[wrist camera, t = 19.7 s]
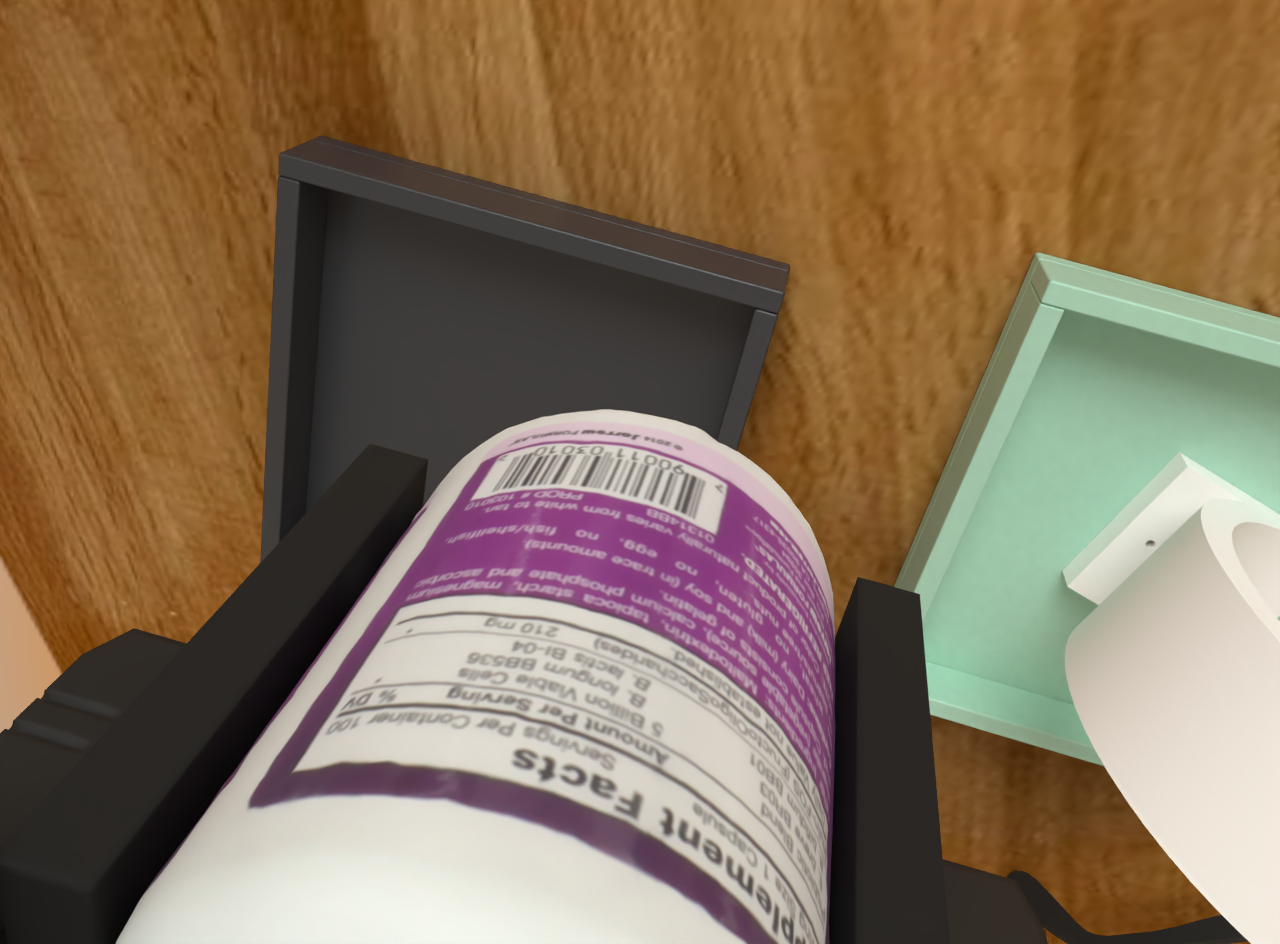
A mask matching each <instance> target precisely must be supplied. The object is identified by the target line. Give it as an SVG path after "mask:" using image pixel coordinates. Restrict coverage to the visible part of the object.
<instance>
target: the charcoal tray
mask: <svg viewBox="0 0 1280 944" xmlns="http://www.w3.org/2000/svg"><path fill="white" fill-rule="evenodd" d="M279 175H280V176H279V178H278V193H277V215H276V237H275V258H274V280H273V302H272V323H271V345H270V367H269V388H268V410H267V432H266V453H265V475H264V497H263V518H262V540H261V553H262V554H261V562H262V561H263V560H264V559H265V558H266V557H267V556H268V554H269V553H270V552H271V551H272V550H273V549H274V548H275V547H276V546H277V545H278V543H279V542H280V541H281V540H282V539H283V538H284V537H285V536H286V535H287V534H288V533H289V531H290V530H291V529H292V528H293V527H294V526H295V525H296V524H297V523H298V522H299V521H300V519H301V518H302V517H303V516H304V515H305V514H306V513H307V512H308V511H309V510H310V508H311V507H312V506H313V505H314V504H315V503H316V502H317V501H318V500H319V499H320V498H321V496H322V495H323V494H324V493H325V492H326V491H327V490H328V489H329V488H330V487H331V486H332V484H333V483H334V482H335V481H336V480H337V479H338V478H339V477H340V476H341V475H342V473H343V472H344V471H345V470H346V469H347V468H348V467H349V466H350V465H351V464H352V463H353V461H354V460H355V459H356V458H357V457H358V456H359V455H360V454H361V453H362V452H363V451H364V449H365V448H366V447H367V446H368V445H369V444H374V445H377V446H381V447H385V448H388V449H392V450H396V451H399V452H403V453H406V454H410V455H414V456H417V457H421V458H425V459H428V466H427V475H426V483H425V492H424V501H423V507H424V505H425V504H426V502H427V501H428V500H429V498H430V497H431V495H432V494H433V493H434V491H435V490H436V488H437V487H438V485H439V484H440V483H441V482H442V481H443V479H444V478H445V477H446V476H447V475H448V473H449V472H450V471H451V470H452V469H453V468H454V467H455V466H456V465H457V464H458V463H459V462H460V461H461V460H462V459H463V458H464V457H465V456H466V455H468V454H469V453H470V452H472V451H473V450H474V449H476V448H477V447H478V446H480V445H481V444H482V443H484V442H485V441H487V440H488V439H490V438H492V437H493V436H495V435H496V434H498V433H500V432H502V431H503V430H505V429H507V428H510V427H513V426H516V425H519V424H522V423H525V422H528V421H531V420H534V419H537V418H540V417H547V416H553V415H558V414H564V413H573V412H581V411H594V410H600V409H611V410H621V411H630V412H636V413H642V414H647V415H653V416H657V417H662V418H666V419H671V420H675V421H678V422H681V423H684V424H687V425H691V426H694V427H697V428H699V429H701V430H703V431H705V432H706V433H707V434H708V435H710V436H711V437H712V438H713V439H715V440H716V441H717V442H719V443H721V444H723V445H726V446H728V447H730V448H731V449H733V450H735V451H737V448H738V445H739V442H740V438H741V435H742V432H743V429H744V425H745V422H746V419H747V416H748V412H749V409H750V406H751V402H752V399H753V396H754V393H755V389H756V386H757V383H758V380H759V376H760V373H761V370H762V367H763V363H764V360H765V357H766V353H767V350H768V347H769V344H770V340H771V337H772V334H773V331H774V327H775V324H776V321H777V318H778V313H779V311H780V308H781V304H782V301H783V298H784V295H785V290H786V285H787V280H788V275H789V270H790V265H789V264H785V263H782V262H778V261H775V260H771V259H767V258H764V257H760V256H756V255H753V254H749V253H746V252H742V251H738V250H735V249H731V248H727V247H724V246H720V245H716V244H713V243H709V242H706V241H702V240H698V239H695V238H691V237H687V236H684V235H680V234H677V233H673V232H669V231H666V230H662V229H658V228H655V227H651V226H647V225H644V224H640V223H637V222H633V221H629V220H626V219H622V218H618V217H615V216H611V215H608V214H604V213H600V212H597V211H593V210H589V209H586V208H582V207H579V206H575V205H571V204H568V203H564V202H560V201H557V200H553V199H549V198H546V197H542V196H539V195H535V194H531V193H528V192H524V191H520V190H517V189H513V188H510V187H506V186H502V185H499V184H495V183H491V182H488V181H484V180H480V179H477V178H473V177H470V176H466V175H462V174H459V173H455V172H451V171H448V170H444V169H441V168H437V167H433V166H430V165H426V164H422V163H419V162H415V161H411V160H408V159H404V158H401V157H397V156H393V155H390V154H386V153H382V152H379V151H375V150H372V149H368V148H364V147H361V146H357V145H353V144H350V143H346V142H342V141H339V140H335V139H332V138H328V137H324V136H319V137H317V138H314V139H312V140H310V141H308V142H305V143H303V144H300V145H298V146H296V147H293V148H291V149H289V150H286V151H284V152H281V153H280V155H279Z"/></svg>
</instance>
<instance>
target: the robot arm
mask: <svg viewBox="0 0 1280 944" xmlns="http://www.w3.org/2000/svg"><path fill="white" fill-rule="evenodd" d="M427 466H428V459H425V458H421V457H417V456H414V455H410V454H406V453H403V452H399V451H396V450H392V449H388V448H385V447H381V446H377V445H374V444H369V445H368V446H367V447H366V448H365V449H364V451H363V452H362V453H361V454H360V455H359V456H358V457H357V458H356V459H355V460H354V461H353V463H352V464H351V465H350V466H349V467H348V468H347V469H346V470H345V471H344V472H343V473H342V475H341V476H340V477H339V478H338V479H337V480H336V481H335V482H334V483H333V484H332V486H331V487H330V488H329V489H328V490H327V491H326V492H325V493H324V494H323V495H322V496H321V498H320V499H319V500H318V501H317V502H316V503H315V504H314V505H313V506H312V507H311V508H310V510H309V511H308V512H307V513H306V514H305V515H304V516H303V517H302V518H301V519H300V521H299V522H298V523H297V524H296V525H295V526H294V527H293V528H292V529H291V530H290V531H289V533H288V534H287V535H286V536H285V537H284V538H283V539H282V540H281V541H280V542H279V543H278V545H277V546H276V547H275V548H274V549H273V550H272V551H271V552H270V553H269V554H268V556H267V557H266V558H265V559H264V560H263V561H262V562H261V563H260V564H259V565H258V566H257V568H256V569H255V570H254V571H253V572H252V573H251V574H250V575H249V576H248V577H247V578H246V580H245V581H244V582H243V583H242V584H241V585H240V586H239V587H238V588H237V589H236V591H235V592H234V593H233V594H232V595H231V596H230V597H229V598H228V599H227V600H226V601H225V603H224V604H223V605H222V606H221V607H220V608H219V609H218V610H217V611H216V612H215V613H214V615H213V616H212V617H211V618H210V619H209V620H208V621H207V622H206V623H205V624H204V626H203V627H202V628H201V629H200V630H199V631H198V632H197V633H196V634H195V635H194V636H193V638H192V639H191V640H190V641H189V642H188V643H187V644H186V643H183V642H179V641H176V640H172V639H169V638H165V637H162V636H158V635H155V634H151V633H148V632H145V631H141V630H138V629H132V630H130V631H128V632H126V633H124V634H122V635H120V636H118V637H116V638H114V639H112V640H110V641H108V642H106V643H104V644H102V645H100V646H98V647H96V648H94V649H92V650H90V651H88V652H86V653H84V654H82V655H81V656H80V657H79V658H78V659H77V660H76V661H75V662H74V663H73V664H72V665H71V666H70V667H69V668H68V669H67V670H66V671H65V672H64V673H63V674H62V675H60V677H58V679H56V681H54V682H53V683H52V684H51V685H50V686H49V687H48V688H47V689H46V690H45V692H44V695H43V697H42V698H41V699H39V698H37V699H35V701H33V702H32V703H31V704H30V705H29V706H28V707H27V708H26V709H25V710H24V711H23V712H22V713H21V714H20V715H19V716H18V717H17V718H16V719H15V720H14V721H13V724H12V727H11V728H10V729H9V730H7V729H4V730H3V731H2V732H1V733H0V944H116V942H117V939H118V938H119V936H120V934H121V932H122V931H123V929H124V927H125V925H126V924H127V922H128V920H129V918H130V917H131V915H132V913H133V911H134V910H135V908H136V906H137V904H138V903H139V901H140V899H141V897H142V896H143V894H144V892H145V891H146V890H147V888H148V887H149V885H150V884H151V883H152V881H153V880H154V878H155V877H156V875H157V874H158V873H159V871H160V870H161V869H162V868H163V866H164V865H165V864H166V862H167V861H168V860H169V859H170V857H171V856H172V855H173V853H174V852H175V851H176V849H177V848H178V847H179V846H180V844H181V843H182V842H183V840H184V839H185V838H186V836H187V835H188V834H189V832H190V831H191V830H192V828H193V827H194V826H195V824H196V823H197V822H198V821H199V819H200V818H201V817H202V815H203V814H204V813H205V811H206V810H207V808H208V807H209V805H210V804H211V802H212V801H213V799H214V798H215V796H216V795H217V793H218V792H219V790H220V789H221V787H222V786H223V784H224V783H225V782H226V781H227V780H228V778H229V777H230V776H231V775H232V774H233V772H234V771H235V770H236V768H237V767H238V765H239V764H240V763H241V761H242V760H243V758H244V757H245V755H246V754H247V753H248V751H249V750H250V748H251V747H252V746H253V744H254V743H255V741H256V740H257V738H258V737H259V736H260V734H261V733H262V732H263V730H264V729H265V727H266V726H267V725H268V723H269V722H270V721H271V719H272V718H273V716H274V715H275V714H276V712H277V711H278V710H279V708H280V707H281V705H282V704H283V703H284V702H285V700H286V699H287V697H288V696H289V694H290V693H291V692H292V690H293V689H294V687H295V686H296V685H297V683H298V682H299V680H300V679H301V678H302V676H303V675H304V673H305V672H306V671H307V669H308V668H309V667H310V665H311V664H312V663H313V661H314V660H315V659H316V657H317V656H318V655H319V653H320V652H321V650H322V649H323V647H324V646H325V645H326V643H327V642H328V640H329V639H330V638H331V636H332V635H333V633H334V632H335V631H336V629H337V628H338V627H339V625H340V624H341V622H342V621H343V619H344V618H345V616H346V615H347V614H348V612H349V611H350V609H351V608H352V606H353V605H354V604H355V602H356V601H357V599H358V598H359V596H360V595H361V593H362V592H363V591H364V589H365V588H366V586H367V585H368V584H369V582H370V581H371V579H372V578H373V577H374V575H375V574H376V572H377V571H378V569H379V568H380V566H381V565H382V564H383V562H384V561H385V559H386V558H387V556H388V555H389V553H390V552H391V550H392V549H393V548H394V546H395V545H396V543H397V542H398V540H399V539H400V538H401V536H402V535H403V534H404V533H405V531H406V530H407V529H408V528H409V526H410V525H411V523H412V521H413V519H414V518H415V516H416V514H417V513H418V512H419V511H420V510H421V509H422V508H423V501H424V492H425V483H426V475H427ZM829 944H1048V943H1047V938H1046V932H1045V931H1044V929H1043V927H1042V925H1041V923H1040V922H1039V920H1038V918H1037V916H1036V915H1035V913H1034V911H1033V909H1032V908H1031V906H1030V904H1029V902H1028V901H1027V899H1026V897H1025V895H1024V894H1023V892H1022V890H1021V888H1020V887H1019V885H1018V883H1017V881H1016V880H1012V879H1009V878H1005V877H1002V876H998V875H995V874H991V873H988V872H985V871H981V870H978V869H974V868H971V867H967V866H964V865H960V864H957V863H953V862H950V861H947V860H943V859H942V847H941V836H940V824H939V812H938V801H937V789H936V777H935V766H934V754H933V742H932V730H931V719H930V707H929V695H928V684H927V672H926V660H925V648H924V637H923V625H922V613H921V602H920V594H918V593H914V592H910V591H907V590H903V589H899V588H896V587H892V586H888V585H885V584H881V583H877V582H874V581H870V580H867V579H863V578H859V577H858V578H857V581H856V584H855V586H854V589H853V592H852V594H851V597H850V600H849V602H848V605H847V607H846V610H845V613H844V615H843V618H842V621H841V623H840V626H839V629H838V631H837V634H836V637H835V761H834V798H833V832H832V854H831V878H830V906H829Z"/></svg>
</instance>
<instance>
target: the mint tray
mask: <svg viewBox="0 0 1280 944" xmlns="http://www.w3.org/2000/svg"><path fill="white" fill-rule="evenodd" d="M1179 452H1180V453H1182V454H1183V455H1185V456H1186V457H1188V458H1190V459H1191V460H1193V461H1194V462H1196V463H1198V464H1199V465H1201V466H1202V467H1204V468H1206V469H1207V470H1209V471H1210V472H1212V473H1214V474H1215V475H1217V476H1218V477H1220V478H1222V479H1223V480H1225V481H1227V482H1228V483H1230V484H1231V485H1233V486H1235V487H1236V488H1238V489H1239V490H1241V491H1243V492H1244V493H1246V494H1247V495H1249V496H1251V497H1252V498H1254V499H1255V500H1257V501H1259V502H1260V503H1262V504H1264V505H1265V506H1267V507H1268V508H1270V509H1272V510H1273V511H1275V512H1276V513H1278V514H1280V318H1278V317H1275V316H1271V315H1267V314H1264V313H1260V312H1256V311H1253V310H1249V309H1245V308H1242V307H1238V306H1234V305H1231V304H1227V303H1223V302H1219V301H1216V300H1212V299H1208V298H1205V297H1201V296H1197V295H1194V294H1190V293H1186V292H1183V291H1179V290H1175V289H1172V288H1168V287H1164V286H1160V285H1157V284H1153V283H1149V282H1146V281H1142V280H1138V279H1135V278H1131V277H1127V276H1124V275H1120V274H1116V273H1113V272H1109V271H1105V270H1101V269H1098V268H1094V267H1090V266H1087V265H1083V264H1079V263H1076V262H1072V261H1068V260H1065V259H1061V258H1057V257H1054V256H1050V255H1046V254H1042V253H1036V254H1035V256H1034V258H1033V260H1032V263H1031V265H1030V267H1029V270H1028V272H1027V274H1026V277H1025V279H1024V281H1023V284H1022V286H1021V288H1020V291H1019V293H1018V296H1017V298H1016V300H1015V303H1014V305H1013V307H1012V310H1011V312H1010V314H1009V317H1008V319H1007V321H1006V324H1005V326H1004V329H1003V331H1002V333H1001V336H1000V338H999V340H998V343H997V345H996V347H995V350H994V352H993V354H992V357H991V359H990V361H989V364H988V366H987V369H986V371H985V373H984V376H983V378H982V380H981V383H980V385H979V387H978V390H977V392H976V394H975V397H974V399H973V401H972V404H971V406H970V409H969V411H968V413H967V416H966V418H965V420H964V423H963V425H962V427H961V430H960V432H959V434H958V437H957V439H956V442H955V444H954V446H953V449H952V451H951V453H950V456H949V458H948V460H947V463H946V465H945V467H944V470H943V472H942V474H941V477H940V479H939V482H938V484H937V486H936V489H935V491H934V493H933V496H932V498H931V500H930V503H929V505H928V507H927V510H926V512H925V515H924V517H923V519H922V522H921V524H920V526H919V529H918V531H917V533H916V536H915V538H914V540H913V543H912V545H911V547H910V550H909V552H908V555H907V557H906V559H905V562H904V564H903V566H902V569H901V571H900V573H899V576H898V578H897V580H896V583H895V585H894V587H896V588H899V589H903V590H907V591H910V592H914V593H918V594H920V602H921V613H922V625H923V637H924V648H925V660H926V672H927V684H928V695H929V707H930V715H933V716H936V717H939V718H943V719H946V720H949V721H953V722H956V723H960V724H963V725H966V726H970V727H973V728H976V729H980V730H983V731H987V732H990V733H993V734H997V735H1000V736H1003V737H1007V738H1010V739H1013V740H1017V741H1020V742H1024V743H1027V744H1030V745H1034V746H1037V747H1040V748H1044V749H1047V750H1051V751H1054V752H1057V753H1061V754H1064V755H1067V756H1071V757H1074V758H1078V759H1081V760H1084V761H1088V762H1091V763H1094V764H1098V765H1101V766H1104V765H1103V763H1102V761H1101V759H1100V758H1099V756H1098V754H1097V753H1096V751H1095V749H1094V747H1093V745H1092V743H1091V741H1090V739H1089V737H1088V735H1087V733H1086V731H1085V729H1084V727H1083V725H1082V722H1081V720H1080V718H1079V715H1078V713H1077V711H1076V708H1075V705H1074V702H1073V699H1072V696H1071V693H1070V690H1069V686H1068V682H1067V677H1066V672H1065V659H1064V658H1065V648H1066V644H1067V641H1068V638H1069V636H1070V635H1071V633H1072V632H1073V630H1074V629H1075V628H1076V627H1077V626H1078V625H1079V624H1080V623H1081V622H1082V621H1083V620H1084V619H1085V618H1086V617H1087V616H1088V615H1089V614H1090V613H1092V612H1093V611H1094V610H1095V609H1096V608H1097V607H1098V606H1099V605H1097V604H1096V603H1094V602H1092V601H1091V600H1089V599H1087V598H1086V597H1084V596H1082V595H1081V594H1079V593H1077V592H1076V591H1074V590H1072V589H1071V588H1069V587H1067V584H1066V581H1065V577H1064V574H1063V571H1062V570H1063V569H1064V568H1065V567H1066V566H1067V565H1068V564H1069V563H1070V562H1071V561H1072V560H1073V559H1074V558H1075V557H1076V556H1077V555H1078V554H1079V553H1080V552H1081V551H1082V550H1083V549H1084V548H1085V547H1086V546H1087V545H1088V544H1089V543H1090V542H1091V541H1092V540H1093V539H1094V538H1095V537H1096V536H1097V535H1098V534H1099V533H1100V532H1101V531H1102V530H1103V529H1104V528H1105V527H1106V526H1107V525H1108V524H1109V523H1110V522H1111V521H1112V520H1113V519H1114V518H1115V517H1116V516H1117V515H1118V513H1119V512H1120V511H1121V510H1122V509H1123V508H1124V507H1125V506H1126V505H1127V504H1128V503H1129V502H1130V501H1131V500H1132V499H1133V498H1134V497H1135V496H1136V495H1137V494H1138V493H1139V492H1140V491H1141V490H1142V489H1143V488H1144V487H1145V486H1146V485H1147V484H1148V483H1149V482H1150V481H1151V480H1152V479H1153V478H1154V477H1155V476H1156V475H1157V474H1158V473H1159V472H1160V471H1161V470H1162V469H1163V468H1164V467H1165V466H1166V465H1167V464H1168V463H1169V462H1170V461H1171V460H1172V459H1173V458H1174V457H1175V456H1176V455H1177V454H1178V453H1179ZM1277 619H1278V620H1279V621H1280V616H1279V617H1278V618H1277ZM1104 767H1105V766H1104Z"/></svg>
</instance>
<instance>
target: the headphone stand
mask: <svg viewBox="0 0 1280 944" xmlns="http://www.w3.org/2000/svg"><path fill="white" fill-rule="evenodd" d="M1062 571H1063V574H1064V577H1065V581H1066V584H1067V587H1069V588H1071V589H1072V590H1074V591H1076V592H1077V593H1079V594H1081V595H1082V596H1084V597H1086V598H1087V599H1089V600H1091V601H1092V602H1094V603H1096V604H1097V605H1099V606H1098V607H1097V608H1096V609H1095V610H1094V611H1093V612H1092V613H1090V614H1089V615H1088V616H1087V617H1086V618H1085V619H1084V620H1083V621H1082V622H1081V623H1080V624H1079V625H1078V626H1077V627H1076V628H1075V629H1074V630H1073V632H1072V633H1071V635H1070V636H1069V638H1068V641H1067V644H1066V648H1065V658H1064V659H1065V672H1066V677H1067V682H1068V686H1069V690H1070V693H1071V696H1072V699H1073V702H1074V705H1075V708H1076V711H1077V713H1078V715H1079V718H1080V720H1081V722H1082V725H1083V727H1084V729H1085V731H1086V733H1087V735H1088V737H1089V739H1090V741H1091V743H1092V745H1093V747H1094V749H1095V751H1096V753H1097V754H1098V756H1099V758H1100V759H1101V761H1102V763H1103V765H1104V766H1105V768H1106V770H1107V771H1108V773H1109V775H1110V776H1111V778H1112V779H1113V781H1114V782H1115V784H1116V785H1117V787H1118V789H1119V790H1120V792H1121V793H1122V795H1123V796H1124V798H1125V799H1126V801H1127V802H1128V803H1129V805H1130V806H1131V808H1132V809H1133V810H1134V812H1135V813H1136V814H1137V816H1138V817H1139V819H1140V820H1141V821H1142V823H1143V824H1144V826H1145V827H1146V828H1147V829H1148V831H1149V832H1150V833H1151V834H1152V836H1153V837H1154V838H1155V840H1156V841H1157V842H1158V843H1159V845H1160V846H1161V847H1162V848H1163V850H1164V851H1165V852H1166V854H1167V855H1168V856H1169V857H1170V858H1171V859H1172V861H1173V862H1174V863H1175V864H1176V865H1177V866H1178V868H1179V869H1180V870H1181V871H1182V872H1183V873H1184V875H1185V876H1186V877H1187V878H1188V879H1189V880H1190V882H1191V883H1192V884H1193V885H1194V886H1195V887H1196V888H1197V889H1198V890H1199V891H1200V892H1201V893H1202V894H1203V896H1204V897H1205V898H1206V899H1207V900H1208V901H1209V902H1210V903H1211V904H1212V905H1213V906H1214V907H1215V909H1216V910H1217V911H1218V912H1219V913H1220V914H1221V915H1222V916H1223V917H1224V918H1225V919H1226V920H1227V921H1228V922H1229V923H1230V924H1231V925H1232V926H1233V927H1234V928H1235V929H1236V930H1237V931H1238V932H1239V933H1240V934H1241V935H1242V936H1243V937H1245V938H1246V939H1247V940H1248V941H1249V942H1250V943H1251V944H1280V621H1279V620H1278V619H1277V618H1278V617H1279V616H1280V514H1278V513H1276V512H1275V511H1273V510H1272V509H1270V508H1268V507H1267V506H1265V505H1264V504H1262V503H1260V502H1259V501H1257V500H1255V499H1254V498H1252V497H1251V496H1249V495H1247V494H1246V493H1244V492H1243V491H1241V490H1239V489H1238V488H1236V487H1235V486H1233V485H1231V484H1230V483H1228V482H1227V481H1225V480H1223V479H1222V478H1220V477H1218V476H1217V475H1215V474H1214V473H1212V472H1210V471H1209V470H1207V469H1206V468H1204V467H1202V466H1201V465H1199V464H1198V463H1196V462H1194V461H1193V460H1191V459H1190V458H1188V457H1186V456H1185V455H1183V454H1182V453H1180V452H1179V453H1178V454H1177V455H1176V456H1175V457H1174V458H1173V459H1172V460H1171V461H1170V462H1169V463H1168V464H1167V465H1166V466H1165V467H1164V468H1163V469H1162V470H1161V471H1160V472H1159V473H1158V474H1157V475H1156V476H1155V477H1154V478H1153V479H1152V480H1151V481H1150V482H1149V483H1148V484H1147V485H1146V486H1145V487H1144V488H1143V489H1142V490H1141V491H1140V492H1139V493H1138V494H1137V495H1136V496H1135V497H1134V498H1133V499H1132V500H1131V501H1130V502H1129V503H1128V504H1127V505H1126V506H1125V507H1124V508H1123V509H1122V510H1121V511H1120V512H1119V513H1118V515H1117V516H1116V517H1115V518H1114V519H1113V520H1112V521H1111V522H1110V523H1109V524H1108V525H1107V526H1106V527H1105V528H1104V529H1103V530H1102V531H1101V532H1100V533H1099V534H1098V535H1097V536H1096V537H1095V538H1094V539H1093V540H1092V541H1091V542H1090V543H1089V544H1088V545H1087V546H1086V547H1085V548H1084V549H1083V550H1082V551H1081V552H1080V553H1079V554H1078V555H1077V556H1076V557H1075V558H1074V559H1073V560H1072V561H1071V562H1070V563H1069V564H1068V565H1067V566H1066V567H1065V568H1064V569H1063V570H1062Z"/></svg>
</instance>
